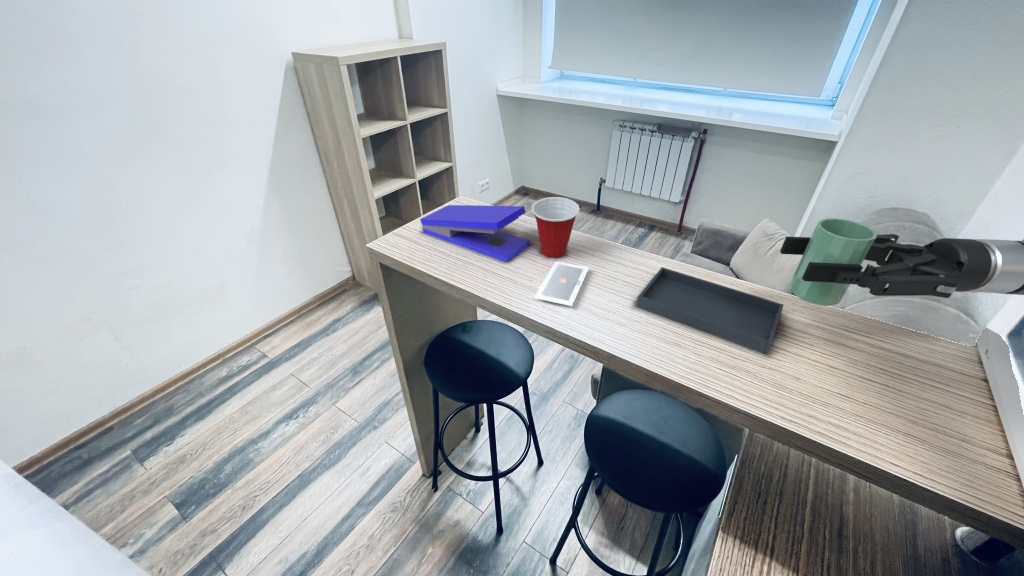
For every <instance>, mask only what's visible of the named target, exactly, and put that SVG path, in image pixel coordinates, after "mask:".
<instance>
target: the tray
mask: <svg viewBox="0 0 1024 576" xmlns="http://www.w3.org/2000/svg"><path fill="white" fill-rule="evenodd" d="M635 307H636V308H638V309H641V310H644V311H647V312H650V313H652V314H655V315H657V316H660V317H663V318H666V319H669V320H671V321H674V322H676V323H680V324H682V325H685V326H687V327H689V328H693V329H695V330H699V331H701V332H704V333H706V334H710V335H712V336H715V337H718V338H720V339H723V340H725V341H728V342H731V343H734V344H736V345H739V346H742V347H744V348H747V349H750V350H752V351H756V352H759V353H761V354H764V355H768V352H769V350H770V348H771V346H772V344H773V341H774V338H775V335H776V330H777V327H778V325H779V321H780V318H781V314H782V312H783V308H784V304H783V303H780V302H777V301H773V300H771V299H767V298H764V297H761V296H757V295H755V294H750V293H749V292H748V293H747V292H744V291H742V290H738V289H735V288H732V287H729V286H725V285H722V284H718V283H715V282H711V281H708V280H705V279H702V278H699V277H695V276H693V275H689V274H686V273H682V272H679V271H676V270H673V269H669V268H666V267H664V266H662V267H660V269H659V270H658V271H657V272H656V274H655V275H654V276H653V277H652V279H651V280H650V281H649V282H648V283H647V285H646V286H645V287H644V289H643V290H642V291H641V292H640V293H639V295H637V300H636V306H635Z"/></svg>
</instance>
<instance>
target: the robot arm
mask: <svg viewBox="0 0 1024 576" xmlns="http://www.w3.org/2000/svg"><path fill="white" fill-rule="evenodd" d="M876 234H877V237H876V239H875V241H874V242H873V244H872V246H871V248H870V250H869V251H868V253H867V255H866V257H865V258H864V260H863V261H870V262H874V263H876V265H877V266H874V265H872V264H870V263H867V265H866V267H865V268H864V266H862V264H861V265H860V264H839V263H818V262H809V264H808V266H807V268H806V270H805V272H804V274H803V277H802V279H803V280H804V281H812V282H831V283H840V284H850V285H857V287H860V288H863V289H866V288H867V289H869V294H870V295H872V296H877V297H888V296H889V297H899V296H900V297H902V296H905V297H907V296H908V297H909V296H920V297H921V296H931V297H937V298H944V299H950V298H951V296H952V295H953V294H954V292H957V293H966V292H968V293H973V294H974V293H982V294H983V293H986V294H987V293H988V294H1001V295H1003V294H1004V295H1017V296H1018V295H1019V296H1024V238H1023V239H1022V240H1013V239H1012V240H1011V239H988V238H951V237H944V238H938V239H935V240H933V241H931V242H929V243H927V244H924V245H918V244H913V243H905V244H903V243H901V242H899V241H898V240H899V238H900V236H899V235H898V234H895V233H886V234H879V233H876ZM810 238H811V236H809V237H808V236H807V237H806V236H785V237H784V241H783V243H782V246H781V248H780V250H779V253H780V254H781V255H797V256H803V254H804V252H805V249H806V247H807V245H808V243H809V241H810ZM863 268H864V270H863ZM862 270H863V271H862ZM887 285H888V286H887ZM886 286H887V287H886Z"/></svg>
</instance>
